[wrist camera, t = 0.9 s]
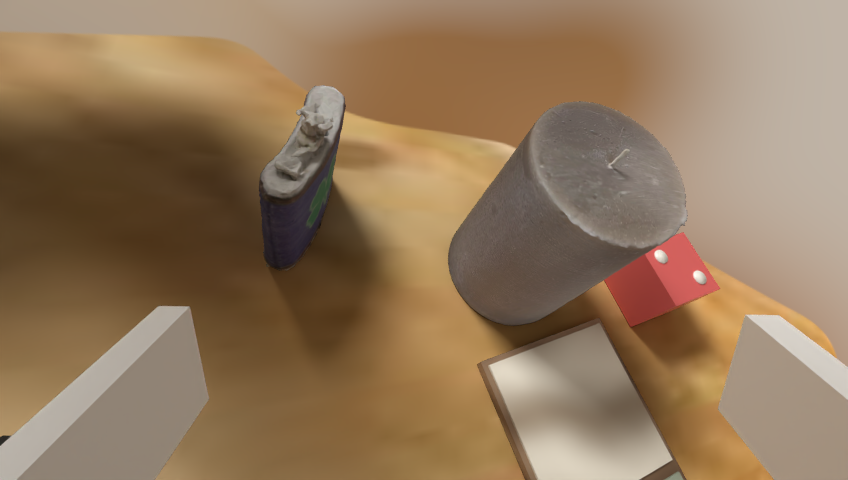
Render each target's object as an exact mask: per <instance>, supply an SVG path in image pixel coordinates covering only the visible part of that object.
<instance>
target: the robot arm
mask: <svg viewBox="0 0 848 480" xmlns="http://www.w3.org/2000/svg"><path fill="white" fill-rule="evenodd" d="M208 400H209V396H208V391H207V386H206V382H205V377H204V372H203V367H202V362H201V358H200V353H199V348H198V343H197V338H196V334H195V329H194V324H193V319H192V314H191V310H190V306H158V307H157V308H156V309H155V310H153V311H152V312H151V313H150V314H149V315H148V316H147V317H145V318H144V319H143V320H142V321H141V322H140V323H139V324H138V325H136V326H135V327H134V328H133V329H132V330H131V331H130V332H129V333H127V334H126V335H125V336H124V337H123V338H122V339H121V340H119V341H118V342H117V343H116V344H115V345H114V346H113V347H112V348H110V349H109V350H108V351H107V352H106V353H105V354H104V355H103V356H101V357H100V358H99V359H98V360H97V361H96V362H95V363H93V364H92V365H91V366H90V367H89V368H88V369H87V370H86V371H84V372H83V373H82V374H81V375H80V376H79V377H78V378H77V379H75V380H74V381H73V382H72V383H71V384H70V385H69V386H67V387H66V388H65V389H64V390H63V391H62V392H61V393H60V394H58V395H57V396H56V397H55V398H54V399H53V400H52V401H51V402H49V403H48V404H47V405H46V406H45V407H44V408H43V409H41V410H40V411H39V412H38V413H37V414H36V415H35V416H34V417H32V418H31V419H30V420H29V421H28V422H27V423H26V424H24V425H23V426H22V427H21V428H20V429H19V430H18V431H17V432H15V433H14V434H13V435H12V436H2V437H0V480H155V479H156V477H157V476H158V474H159V473H160V471H161V470H162V468H163V467H164V465H165V464H166V462H167V461H168V459H169V458H170V456H171V455H172V453H173V452H174V450H175V449H176V447H177V446H178V445H179V443H180V442H181V440H182V439H183V437H184V436H185V434H186V433H187V431H188V430H189V428H190V427H191V425H192V424H193V422H194V421H195V419H196V418H197V416H198V415H199V413H200V412H201V410H202V409H203V407H204V406H205V404H206V403H207V401H208ZM718 410H719V411H720V412H721V414H722V415H723V416H724V417H725V419H726V420H727V421H728V422H729V424H730V425H731V426H732V427H733V429H734V430H735V431H736V432H737V434H738V435H739V436H740V437H741V439H742V440H743V441H744V442H745V444H746V445H747V446H748V447H749V449H750V450H751V451H752V452H753V454H754V455H755V456H756V457H757V459H758V460H759V461H760V462H761V464H762V465H763V466H764V467H765V469H766V470H767V471H768V472H769V474H770V475H771V476H772V477H773V479H774V480H848V367H847V366H846V365H844V364H843V363H842V362H840V361H839V360H838V359H836V358H835V357H834V356H832V355H831V354H830V353H828V352H827V351H826V350H824V349H823V348H822V347H820V346H819V345H818V344H816V343H815V342H814V341H812V340H811V339H810V338H808V337H807V336H806V335H804V334H803V333H802V332H800V331H799V330H798V329H796V328H795V327H794V326H792V325H791V324H790V323H788V322H787V321H786V320H784V319H783V318H782V317H780V316H779V315H745V318H744V321H743V324H742V328H741V331H740V335H739V338H738V342H737V345H736V348H735V352H734V355H733V359H732V362H731V366H730V369H729V373H728V376H727V379H726V383H725V386H724V390H723V393H722V397H721V400H720V403H719V407H718Z"/></svg>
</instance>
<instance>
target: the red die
mask: <svg viewBox="0 0 848 480" xmlns="http://www.w3.org/2000/svg"><path fill="white" fill-rule="evenodd" d="M604 281H605V282H606V284H607V286H608V288H609V290H610V291H611V293H612V295H613V297H614V299H615V300H616V302H617V304H618V306H619V307H620V309H621V311H622V313H623V315H624V316H625V318H626V320H627V322H628V324H629V325H630V327H633V326H635V325H638V324H640V323H643V322H645V321H648V320H650V319H653V318H655V317H658V316H660V315H663V314H665V313H668V312H670V311H673V310H675V309H677V308H679V307H681V306H684V305H686V304H688V303H690V302H692V301H695V300H697V299H699V298H701V297H703V296H706V295H708V294H710V293H712V292H714V291H717V290H719V289H720V288H719V286H718V285H717V283H716V282H715V280H714V279H713V277H712V275H711V274H710V272H709V271H708V269H707V268H706V266H705V265H704V263H703V262H702V260H701V259H700V257H699V256H698V254H697V253H696V251H695V249H694V248H693V246H692V245H691V243H690V242H689V240H688V239H687V237H686V236H685V234H684V233H680V234H677V235H674V236H673V237H671V238H670V239H669V240H668V241H666V242H664V243H663V244H662V245H660V246H657V247H656V248H654V249H652V250H651V251H649V252H648V253H646V254H644V255H642V256H641V257H639V258H637V259H636V260H634V261H633V262H631V263H630V264H628V265H626V266H625V267H623V268H622V269H620V270H619V271H617V272H615V273H614V274H612V275H611V276H609V277H608V278H606V279H605V280H604Z"/></svg>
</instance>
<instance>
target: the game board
mask: <svg viewBox="0 0 848 480" xmlns="http://www.w3.org/2000/svg"><path fill="white" fill-rule="evenodd" d="M477 366H478V368H479V370H480V373H481V375H482V377H483V380H484V382H485V385H486V387H487V389H488V392H489V394H490V397H491V399H492V401H493V404H494V406H495V408H496V411H497V413H498V416H499V418H500V420H501V423H502V425H503V427H504V430H505V432H506V435H507V437H508V439H509V442H510V444H511V447H512V449H513V451H514V454H515V456H516V458H517V461H518V463H519V466H520V468H521V470H522V473H523V475H524V477H525V480H686V478H685V476H684V474H683V472H682V471H681V469H680V467H679V465H678V463H677V461H676V459H675V458H674V456H673V454H672V452H671V450H670V448H669V446H668V445H667V443H666V441H665V439H664V437H663V435H662V433H661V431H660V430H659V428H658V426H657V424H656V422H655V420H654V418H653V417H652V415H651V413H650V411H649V409H648V407H647V405H646V404H645V402H644V400H643V398H642V396H641V394H640V392H639V391H638V389H637V387H636V385H635V383H634V381H633V379H632V378H631V376H630V374H629V372H628V370H627V368H626V366H625V365H624V363H623V361H622V359H621V357H620V355H619V353H618V352H617V350H616V348H615V346H614V344H613V342H612V340H611V339H610V337H609V335H608V333H607V331H606V329H605V327H604V325H603V324H602V322H601V320H600V318H597V319H594V320H592V321H589V322H586V323H584V324H581V325H578V326H576V327H573V328H570V329H568V330H565V331H562V332H560V333H557V334H554V335H551V336H549V337H546V338H543V339H541V340H538V341H535V342H533V343H530V344H527V345H525V346H522V347H519V348H517V349H514V350H511V351H509V352H506V353H503V354H501V355H498V356H495V357H493V358H490V359H487V360H485V361H482V362H480V363H478V364H477Z"/></svg>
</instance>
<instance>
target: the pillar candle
mask: <svg viewBox="0 0 848 480" xmlns="http://www.w3.org/2000/svg"><path fill="white" fill-rule="evenodd" d="M685 199H686V194H685V189H684V185H683V182H682V178H681V176H680V173H679V170H678V169H677V167H676V165H675V163H674V161H673V160H672V157H671V155H670V154H669V152H668V151H667V150H666V148H665V147H663V146H662V144H661V143H660V142H659V141H658V140H657V139H656V138H655V137H654V136H653V134H651V133H650V132H649V131H647V130H646V129H645V128H644V127H643V126H641V125H640V124H638V123H637V122H636V121H634V120H633V119H632V118H630V117H628V116H626V115H624V114H623V113H621V112H620V111H616V110H614V109H612V108H609V107H606V106H603V105H600V104H596V103H589V102H581V101H579V102H570V103H562V104H560V105H557V106H555V107H553V108H550V109H549V110H547V111H546V112H545V113H544V114H543V115H542V116H541V117H540V118H539V119H538V120H537V122H536V123H535V124H534V125H533V127H532V128H531V130H530V131H529V132H528V134H527V135H526V136H525V138H524V139H523V141H522V142H521V143H520V145H519V146H518V148H517V149H516V150H515V152H514V153H513V155H512V156H511V157H510V159H509V160H508V161H507V163H506V164H505V166H504V167H503V168H502V170H501V171H500V172H499V174H498V175H497V177H496V178H495V179H494V181H493V182H492V183H491V184H490V186H489V187H488V188H487V190H486V191H485V193H484V194H483V196H482V197H481V198H480V200H479V201H478V202H477V204H476V205H475V206H474V208H473V209H472V210H471V212H470V213H469V215H468V216H467V218H466V219H465V220H464V222H463V223H462V224H461V226H460V227H459V229H458V230H457V231H456V233H455V235H454V237H453V239H452V241H451V244H450V248H449V255H448V265H449V271H450V274H451V277H452V280H453V283H454V285H455V287H456V289H457V290H458V292H459V293H460V295H461V296H462V298H463V299H464V300H465V301H466V302H467V303H468V304H469V306H470V307H471V308H473V309H474V310H475V311H477V312H478V313H479V314H480V315H482V316H484V317H486V318H487V319H489V320H491V321H494V322H497V323H500V324H503V325H510V326H515V325H523V324H528V323H533V322H535V321H538V320H540V319H542V318H544V317H545V316H547V315H549V314H550V313H552V312H554V311H555V310H557V309H558V308H560V307H562V306H563V305H565V304H566V303H568V302H569V301H571V300H573V299H574V298H576V297H578V296H579V295H581V294H583V293H584V292H586V291H587V290H589V289H590V288H592V287H593V286H595V285H596V284H598V283H600V282H601V281H603V280H605V279H606V278H608V277H609V276H611V275H612V274H614V273H615V272H617V271H619V270H620V269H622V268H623V267H625V266H626V265H628V264H630V263H631V262H633V261H634V260H636V259H637V258H639V257H641V256H642V255H644V254H646V253H648V252H649V251H651V250H652V249H654V248H656V247H657V246H660V245H662V244H663V243H664V242H666V241H668V240H669V239H670V238H671V237H673V236H674V235H675V234H676V232H677V231H678V230H679V228H680V226H682V225H684V226H685V222H686V221H687V216H688V215H687V210H686V209H685V207H686V200H685Z"/></svg>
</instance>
